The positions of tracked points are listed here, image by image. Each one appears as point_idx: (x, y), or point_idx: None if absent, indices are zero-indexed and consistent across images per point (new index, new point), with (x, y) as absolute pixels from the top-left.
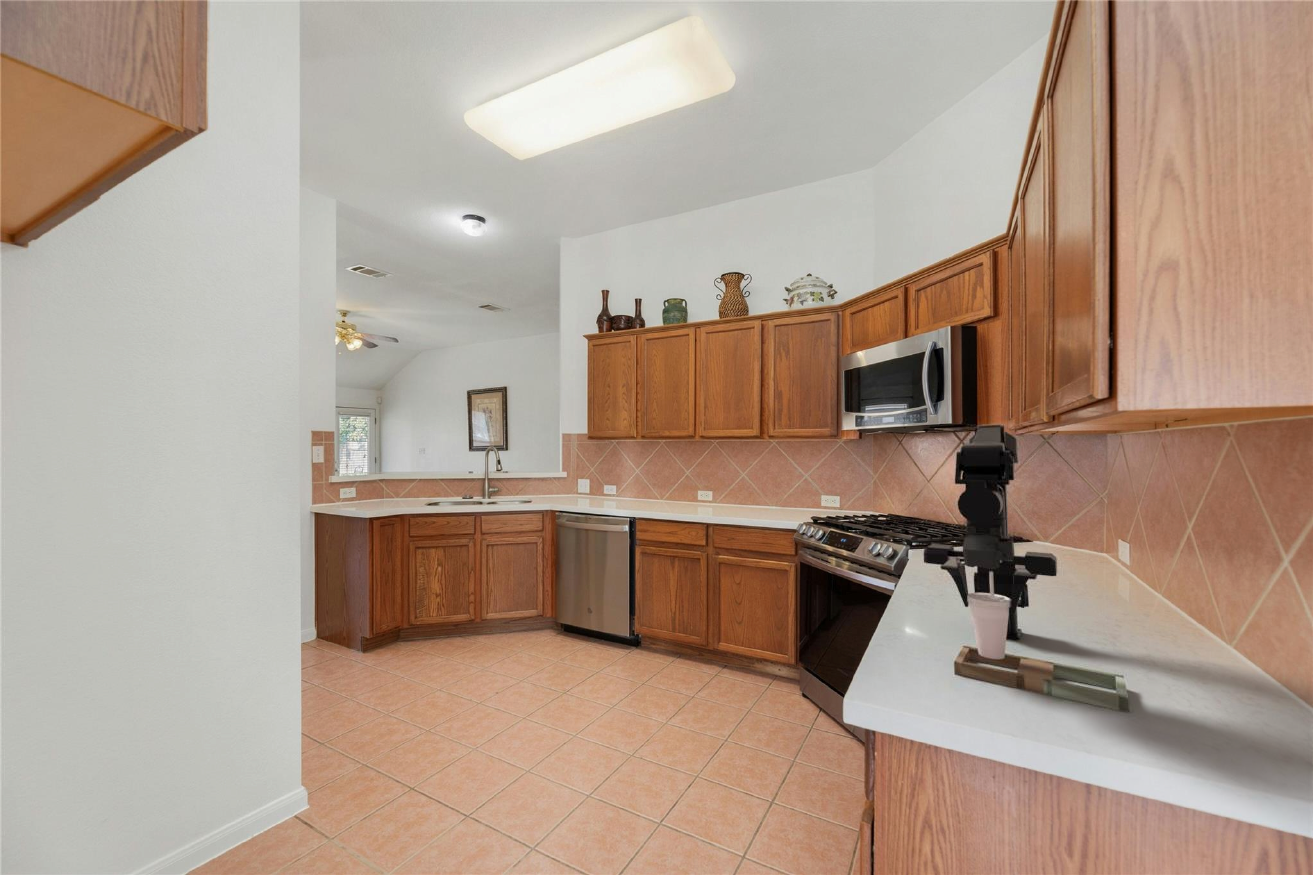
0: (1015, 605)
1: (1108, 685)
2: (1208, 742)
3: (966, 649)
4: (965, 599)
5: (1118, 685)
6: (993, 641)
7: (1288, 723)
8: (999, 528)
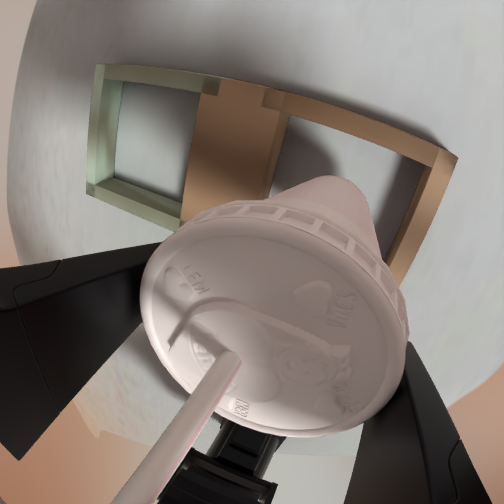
0: (132, 250)
1: (118, 181)
2: (69, 17)
3: None
4: (412, 366)
5: (96, 128)
6: (319, 182)
7: (12, 144)
8: None
